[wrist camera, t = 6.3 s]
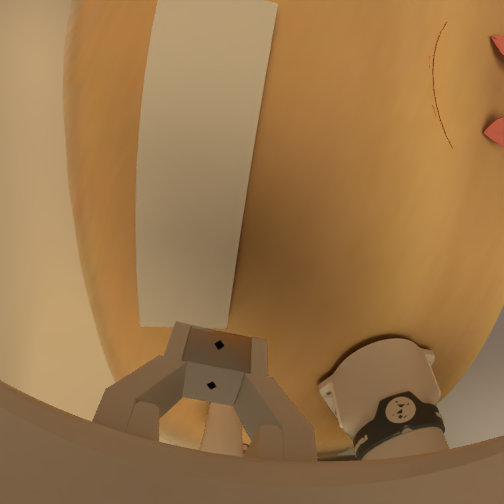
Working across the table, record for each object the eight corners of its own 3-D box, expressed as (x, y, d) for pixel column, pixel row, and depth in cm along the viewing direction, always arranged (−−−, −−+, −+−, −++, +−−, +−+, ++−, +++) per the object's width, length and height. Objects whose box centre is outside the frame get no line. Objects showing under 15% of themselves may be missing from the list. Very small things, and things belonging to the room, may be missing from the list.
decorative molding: (265, 15, 24) (164, 3, 22) (278, 3, 20) (160, -11, 18) (221, 303, 40) (143, 300, 37) (226, 328, 36) (140, 326, 33)
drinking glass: (207, 414, 49) (198, 488, 36) (203, 392, 46) (190, 474, 33) (246, 415, 49) (243, 491, 36) (245, 393, 46) (242, 478, 33)
